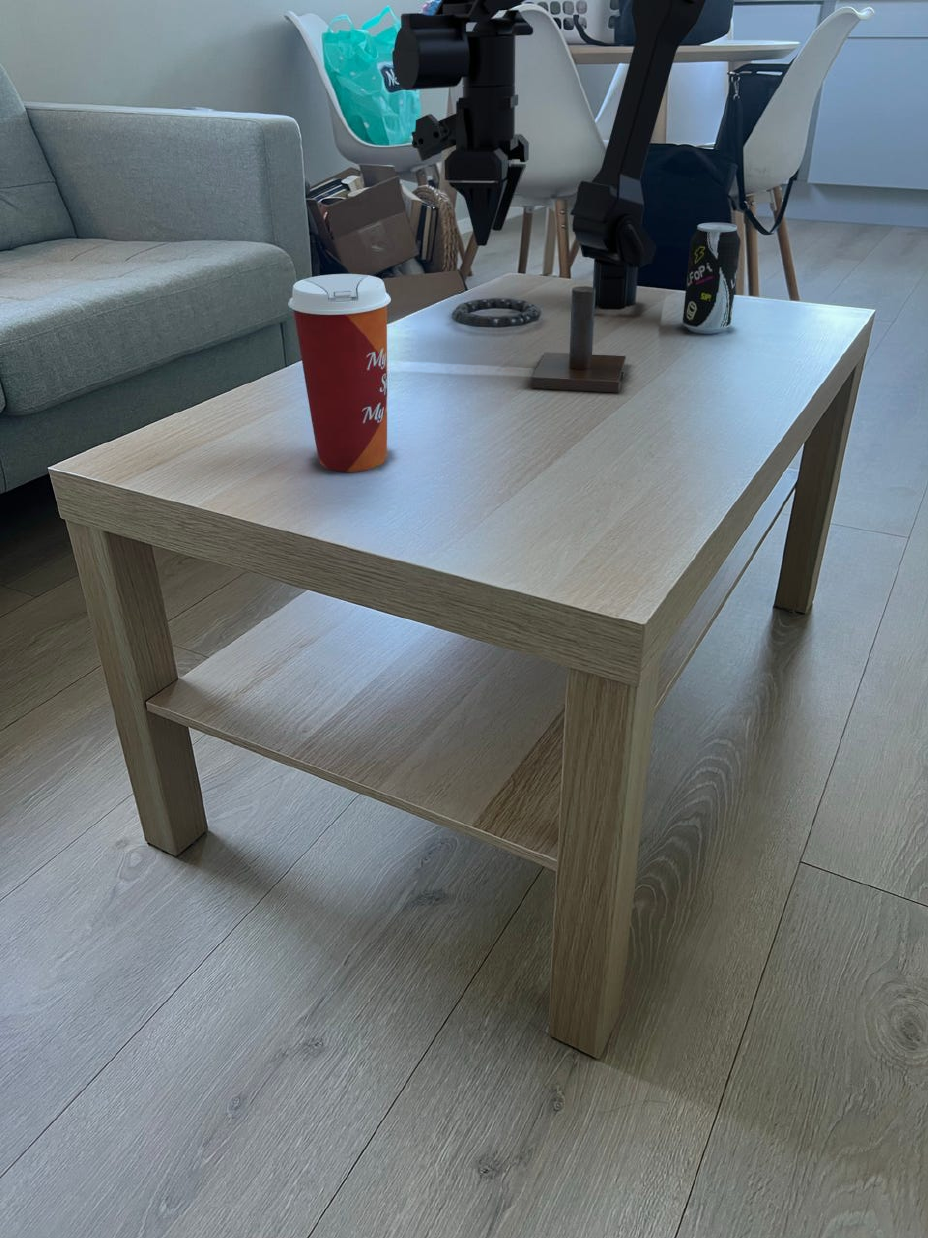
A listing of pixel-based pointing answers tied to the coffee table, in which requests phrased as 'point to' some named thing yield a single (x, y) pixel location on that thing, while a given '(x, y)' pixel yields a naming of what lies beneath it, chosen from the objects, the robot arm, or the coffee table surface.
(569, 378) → the peg stand
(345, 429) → the coffee cup
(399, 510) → the coffee table surface
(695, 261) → the beverage can
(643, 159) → the robot arm
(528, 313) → the ring
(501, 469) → the coffee table surface
